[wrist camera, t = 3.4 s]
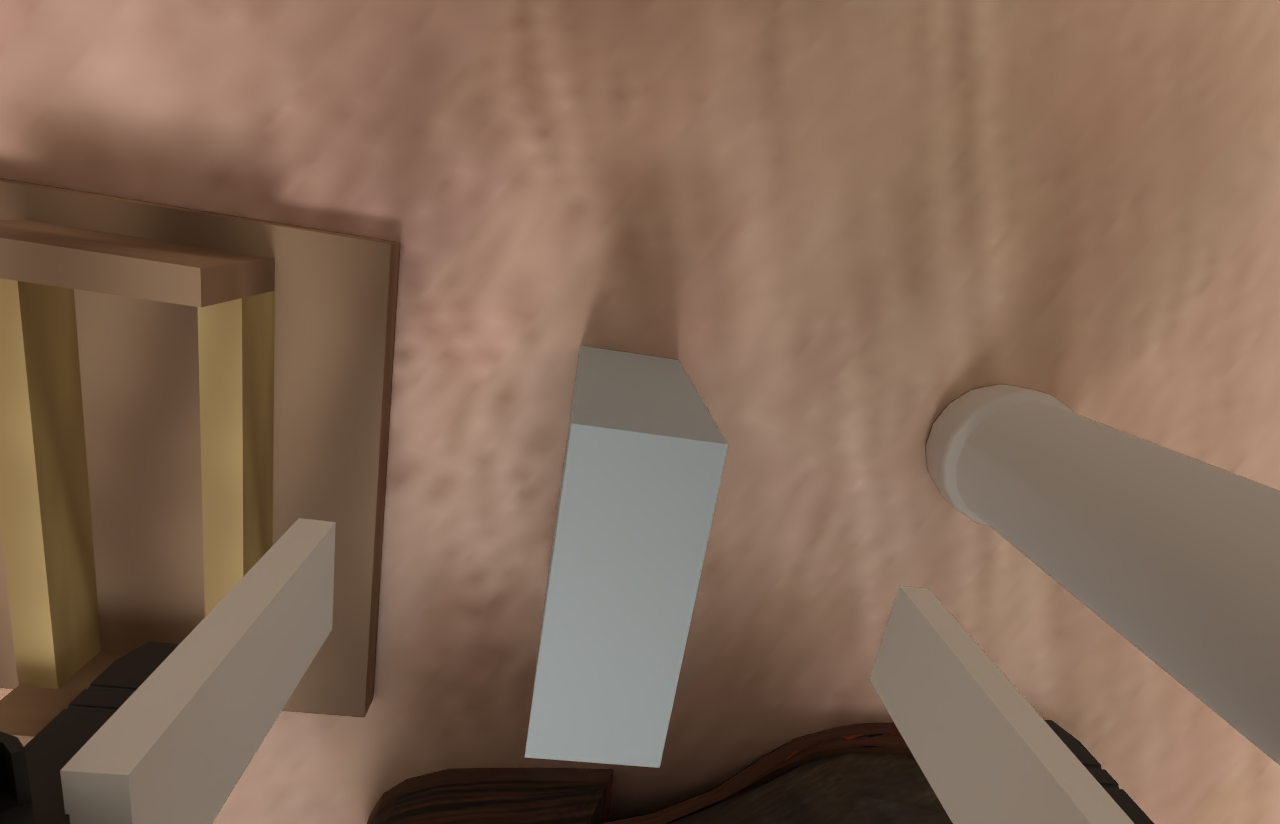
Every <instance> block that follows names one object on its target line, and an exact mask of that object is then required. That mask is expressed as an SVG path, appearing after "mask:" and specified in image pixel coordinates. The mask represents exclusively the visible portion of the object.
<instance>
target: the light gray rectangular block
mask: <svg viewBox="0 0 1280 824" xmlns="http://www.w3.org/2000/svg"><path fill="white" fill-rule="evenodd" d="M727 449H728V443H727V441H726V440H725V438H724V436H723V435H722V433H721V431H720V430H719V428H718V426H717V425H716V423H715V421H714V419H713V418H712V416H711V414H710V413H709V411H708V409H707V408H706V406H705V404H704V403H703V401H702V399H701V397H700V396H699V394H698V392H697V391H696V389H695V387H694V386H693V384H692V382H691V381H690V379H689V377H688V376H687V374H686V372H685V370H684V369H683V367H682V365H681V364H680V362H679V360H675V359H669V358H662V357H655V356H648V355H642V354H635V353H628V352H621V351H615V350H608V349H601V348H594V347H588V346H581V345H580V350H579V357H578V364H577V371H576V378H575V385H574V393H573V400H572V407H571V414H570V421H569V428H568V435H567V443H566V450H565V457H564V464H563V471H562V478H561V486H560V493H559V500H558V507H557V514H556V521H555V528H554V536H553V543H552V550H551V557H550V564H549V571H548V579H547V587H546V594H545V602H544V610H543V618H542V626H541V633H540V641H539V649H538V657H537V664H536V672H535V680H534V688H533V695H532V703H531V711H530V719H529V727H528V734H527V742H526V750H525V757H526V758H539V759H552V760H565V761H578V762H591V763H604V764H617V765H630V766H643V767H656V768H660V763H661V759H662V754H663V749H664V745H665V740H666V735H667V731H668V726H669V721H670V716H671V712H672V707H673V702H674V698H675V693H676V688H677V684H678V679H679V674H680V669H681V665H682V660H683V655H684V651H685V646H686V641H687V637H688V632H689V627H690V622H691V618H692V613H693V608H694V604H695V599H696V594H697V590H698V585H699V580H700V575H701V571H702V566H703V561H704V557H705V552H706V547H707V543H708V538H709V533H710V528H711V524H712V519H713V514H714V510H715V505H716V500H717V496H718V491H719V486H720V481H721V477H722V472H723V467H724V463H725V458H726V453H727Z"/></svg>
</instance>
